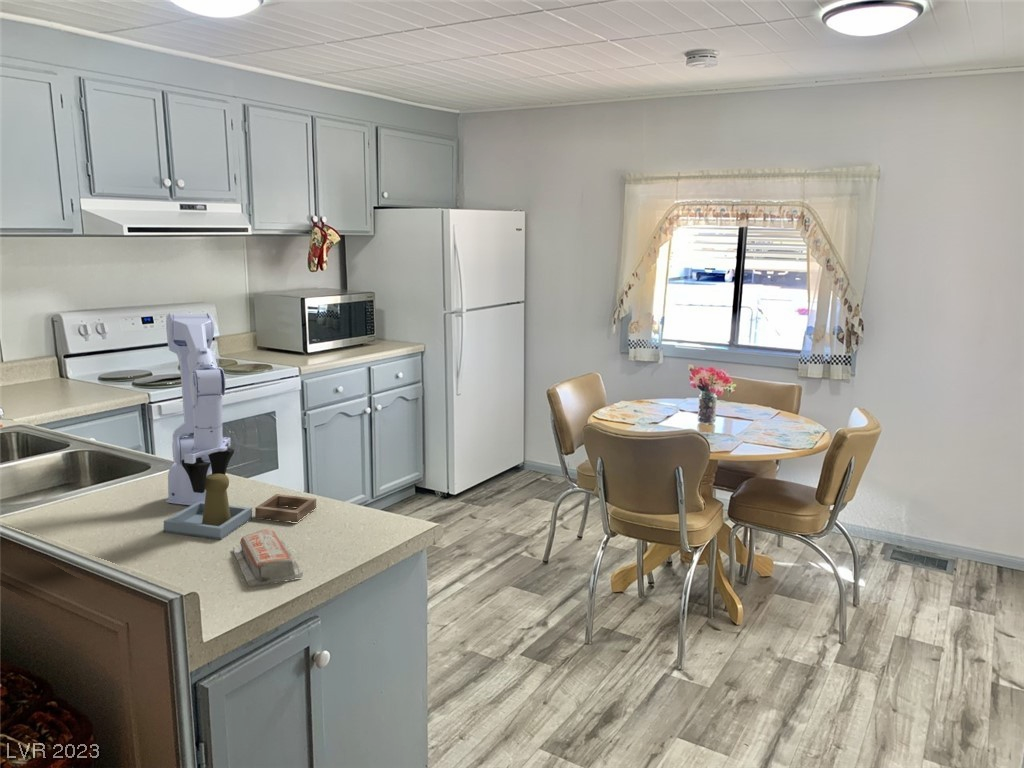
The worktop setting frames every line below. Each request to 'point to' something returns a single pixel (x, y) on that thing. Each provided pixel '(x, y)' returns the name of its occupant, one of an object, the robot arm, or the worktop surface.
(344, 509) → the worktop surface
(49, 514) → the worktop surface
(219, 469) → the robot arm
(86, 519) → the worktop surface
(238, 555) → the packaged product
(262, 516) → the frame
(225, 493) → the cork
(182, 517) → the parts tray
